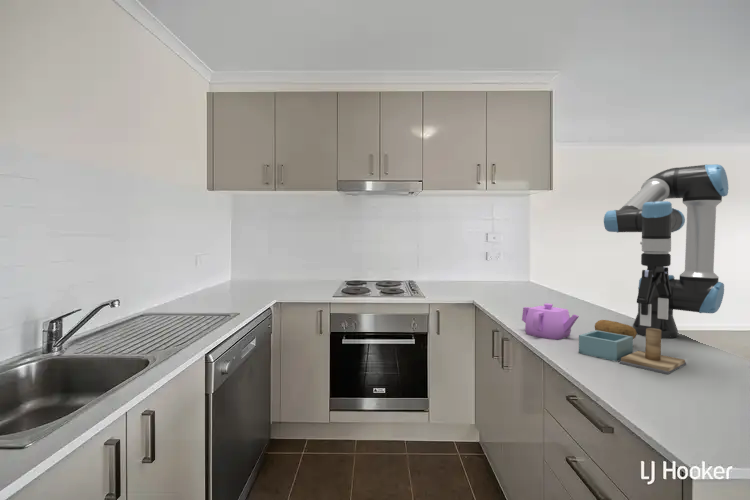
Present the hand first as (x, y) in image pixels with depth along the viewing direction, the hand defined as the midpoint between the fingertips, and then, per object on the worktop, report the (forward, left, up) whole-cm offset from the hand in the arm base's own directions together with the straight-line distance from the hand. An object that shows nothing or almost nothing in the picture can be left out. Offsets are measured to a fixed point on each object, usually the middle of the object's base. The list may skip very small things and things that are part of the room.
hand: (654, 322), depth 134 cm
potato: (-16, -18, -13) cm, 27 cm away
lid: (0, 0, -12) cm, 12 cm away
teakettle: (-10, -40, -13) cm, 43 cm away
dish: (0, -14, -13) cm, 19 cm away
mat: (0, 0, -13) cm, 13 cm away
